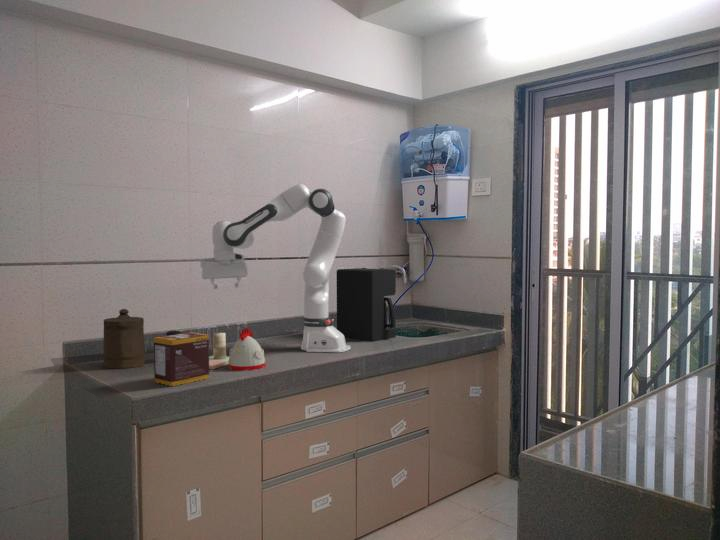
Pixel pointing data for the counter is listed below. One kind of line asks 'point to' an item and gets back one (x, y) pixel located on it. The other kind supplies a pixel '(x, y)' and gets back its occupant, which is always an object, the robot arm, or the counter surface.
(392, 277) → the coffee maker
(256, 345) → the kitchen timer
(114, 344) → the wooden container
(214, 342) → the beige cylinder
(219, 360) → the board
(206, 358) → the supplement box
